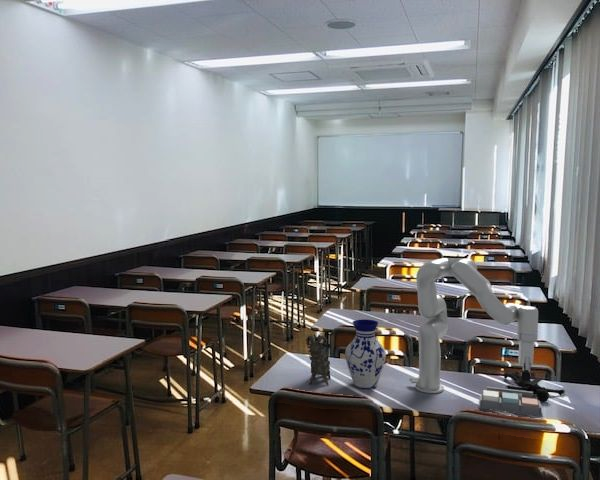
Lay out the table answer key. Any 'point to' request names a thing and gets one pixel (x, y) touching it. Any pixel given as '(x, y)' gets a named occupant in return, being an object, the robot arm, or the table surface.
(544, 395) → the toy
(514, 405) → the keypad
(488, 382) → the table surface
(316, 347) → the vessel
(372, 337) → the vase
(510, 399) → the teal key
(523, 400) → the terracotta key
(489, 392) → the cream key
